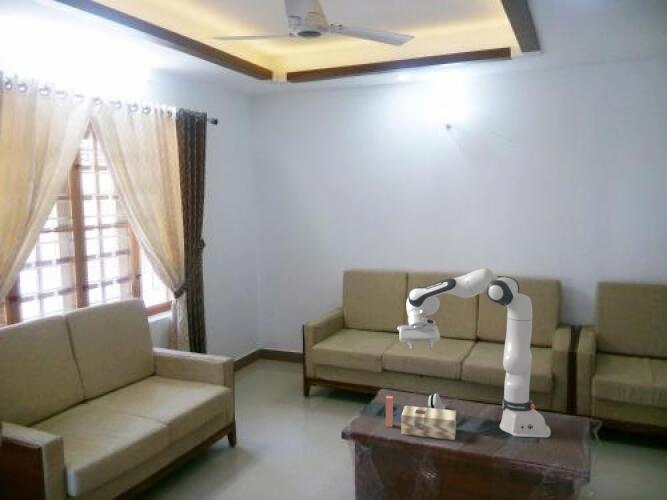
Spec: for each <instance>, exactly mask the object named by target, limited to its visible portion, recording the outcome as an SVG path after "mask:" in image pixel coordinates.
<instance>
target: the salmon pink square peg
mask: <svg viewBox="0 0 667 500" xmlns="http://www.w3.org/2000/svg"><path fill="white" fill-rule="evenodd" d="M393 420H394V396H393V395H386V397H385V427H388V428H392V427H393V426H394V425H393V424H394V421H393Z"/></svg>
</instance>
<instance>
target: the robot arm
mask: <svg viewBox="0 0 667 500" xmlns="http://www.w3.org/2000/svg"><path fill="white" fill-rule="evenodd" d="M519 292H520V284H519V282H518V281H517V280H516V279H515V278H513V277H511V276H503V275H502V276H501V275H499V276H496V275H495V274H494V272H493V271H492V270H491V269H489V268H487V267H486V268H481V269H475V270H473V271H471V272H468V273H466V274H463V275H461V276H458V277H453V278H446V279H442V280H439V281H436V282H434V283H431V284H427V285H423V286H416V287H414V288H412V289H411V290H410V291H409V293H408V297H407V298H406V303H405V306H406V307H405V308H406V314H407V317H408V318H407V322H408V324H406V323H405V324H402V323H401V324H399V325H398V326H397V332H399V334H398V335H399V336H398V337H399V341H400V342H401V343H406V344H407V346H408V347H409V349H410V350H414V349H415V348H414V344H412V343H418V342H419V343H423V342H424V343H425V342H429V343H430V344H428V349H429V350H433V347H434V346H433V344H434V342H439V341H440V339H441V333H440V329H439V328H438V325H436V320H434V319H432V318H431V319H429V318H427V317H430V316H432V315H434V314H437V313H438V312H439V310H440V308H441V301H440V299H439V298H438V297H437V296H440V295H444V294H448V295H453V296H456V297H459V298H463V299H469V298H472V297H475V296H478V295H480V294H482V293H486V296H487V298H488V300H490V301H491V302H493V303H494V304H498V305H500V306H503V307H506V308H507V315H506V334H505V335H506V336H505V341H504V348H503V358H502V359H503V360H502V365H503V369H504V371H506V372H505V376H504V385H503V386H504V387H503V388H504V389H503V390H504V394H503V398H502V416H501V421H500V424H499V428H500V430H502V431H503V432H505V433H508V434H510V435H512V436H514V437H519V438H526V437H527V438H550V436H551V435H552V434H551V433H552V432H551V427H549V426H548V424H546V420H545V418H544V416H543V414H541V413H540V412H538V411H537V410H536V409H535V408H536V405H535V404H534V402H533V400H530V383H531V382H530V381H531V373H532V361H533V355H532V351H531V340H532V334H533V333H532V331H533V305H532V300H531V297H529V295H526V294H523V293H519Z"/></svg>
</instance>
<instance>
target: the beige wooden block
mask: <svg viewBox="0 0 667 500" xmlns="http://www.w3.org/2000/svg"><path fill="white" fill-rule="evenodd" d="M400 416H401V417H400V419H401V420H400V422H401V425H400V429H401V430H400V435H405V436H406V435H408V436H416V437H425V438H433V439H444V440H452V441H455V440H456V439H455V438H456V431H457V410H456V409H455V410H454V409H453V410H452V409H434V408H429V407H422V406H412V405H404V407H403V410H402V411H401V415H400Z"/></svg>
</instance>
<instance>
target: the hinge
mask: <svg viewBox="0 0 667 500" xmlns="http://www.w3.org/2000/svg"><path fill="white" fill-rule="evenodd" d="M427 404H428V408H434V409H445V410H447V409H446V404H445V403H443V402H442V400H441V397H440V395H439V393H434V394H433V393H432V394H431V395H429V397H428V402H427Z"/></svg>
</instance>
